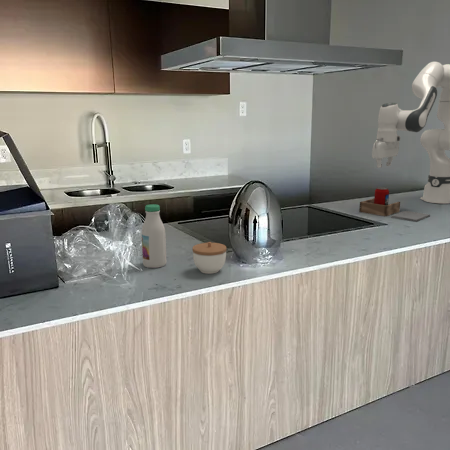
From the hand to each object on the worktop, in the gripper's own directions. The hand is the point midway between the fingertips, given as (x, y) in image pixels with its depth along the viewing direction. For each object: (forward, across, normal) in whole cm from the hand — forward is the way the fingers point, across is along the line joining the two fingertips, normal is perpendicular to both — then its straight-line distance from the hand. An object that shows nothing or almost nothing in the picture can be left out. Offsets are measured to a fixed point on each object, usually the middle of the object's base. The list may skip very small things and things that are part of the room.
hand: (384, 166), depth 226 cm
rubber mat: (+22, -1, -16) cm, 27 cm away
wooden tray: (+22, -1, 0) cm, 22 cm away
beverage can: (+22, 0, 0) cm, 23 cm away
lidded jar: (+23, -119, -3) cm, 121 cm away
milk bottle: (+23, -128, +14) cm, 131 cm away
